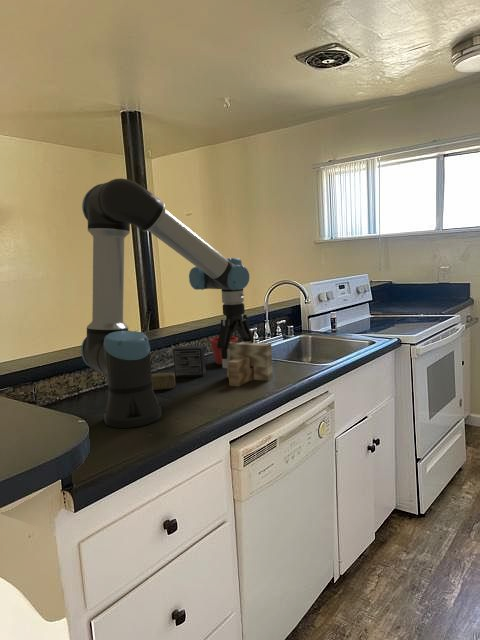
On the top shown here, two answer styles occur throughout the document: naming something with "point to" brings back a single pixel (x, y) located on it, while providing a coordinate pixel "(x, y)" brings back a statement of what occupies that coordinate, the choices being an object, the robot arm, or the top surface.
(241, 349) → the beige wooden slab
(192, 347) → the small box
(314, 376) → the top surface
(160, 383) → the stone block
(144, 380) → the robot arm
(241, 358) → the oak board
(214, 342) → the flower pot
